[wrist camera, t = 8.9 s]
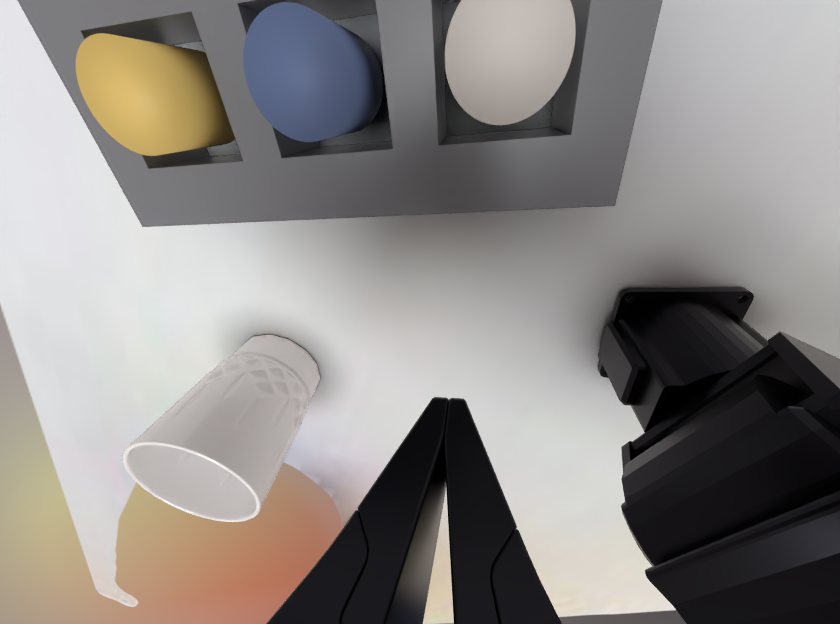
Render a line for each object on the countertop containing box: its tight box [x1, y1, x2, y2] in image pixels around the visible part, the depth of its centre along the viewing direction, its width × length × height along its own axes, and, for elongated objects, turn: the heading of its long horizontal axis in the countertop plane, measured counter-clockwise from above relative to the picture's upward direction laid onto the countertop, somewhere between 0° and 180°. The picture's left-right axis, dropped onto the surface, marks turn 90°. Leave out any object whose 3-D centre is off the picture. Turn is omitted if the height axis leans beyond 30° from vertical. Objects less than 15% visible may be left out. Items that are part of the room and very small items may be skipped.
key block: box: [18, 0, 662, 227], centre depth 14 cm, size 22×10×4 cm, turn 95°
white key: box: [445, 0, 576, 125], centre depth 11 cm, size 4×4×4 cm
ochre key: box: [76, 33, 235, 156], centre depth 13 cm, size 4×4×4 cm
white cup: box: [122, 335, 320, 522], centre depth 22 cm, size 8×8×10 cm
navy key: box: [243, 2, 383, 142], centre depth 12 cm, size 4×4×4 cm
